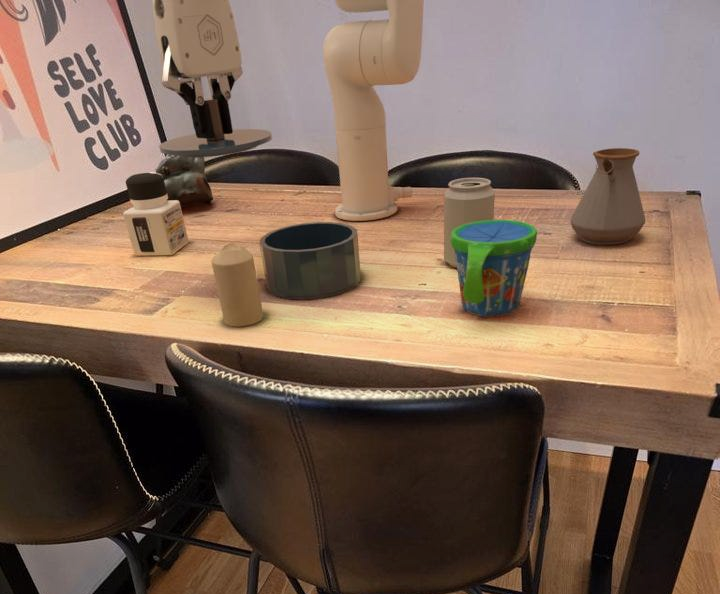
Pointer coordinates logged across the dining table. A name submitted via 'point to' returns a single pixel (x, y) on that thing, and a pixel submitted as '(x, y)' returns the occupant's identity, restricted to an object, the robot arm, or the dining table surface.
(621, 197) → the coffee pot
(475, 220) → the can
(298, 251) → the bowl
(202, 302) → the dining table surface
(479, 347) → the dining table surface
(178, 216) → the container
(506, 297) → the snack cup
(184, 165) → the grey lumpy figure
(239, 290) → the candle
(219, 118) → the lid
